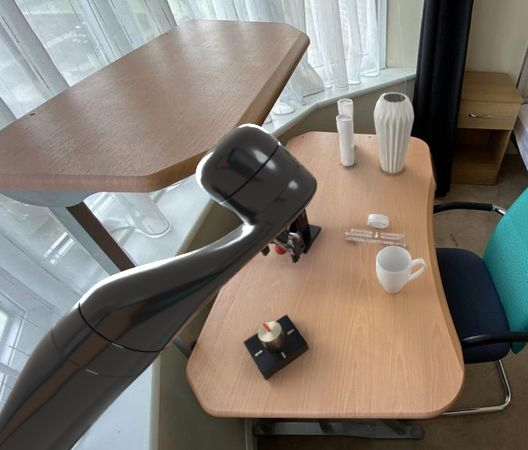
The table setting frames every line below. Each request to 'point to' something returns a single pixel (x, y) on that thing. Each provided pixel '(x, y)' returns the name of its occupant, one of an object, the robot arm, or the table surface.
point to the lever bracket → (305, 230)
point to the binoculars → (346, 131)
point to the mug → (396, 268)
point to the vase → (393, 129)
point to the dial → (272, 336)
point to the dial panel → (278, 360)
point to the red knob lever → (278, 248)
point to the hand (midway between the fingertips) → (281, 257)
